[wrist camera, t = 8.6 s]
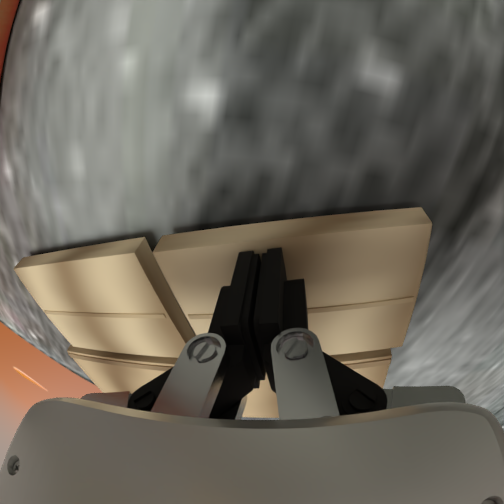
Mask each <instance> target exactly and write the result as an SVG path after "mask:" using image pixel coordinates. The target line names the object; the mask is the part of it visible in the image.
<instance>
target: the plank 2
mask: <svg viewBox="0 0 504 504" xmlns="http://www.w3.org/2000/svg"><path fill="white" fill-rule="evenodd" d="M431 229H432V222H431V221H430V219H429V218H428V216H427V215H426V213H425V212H424V210H423V209H422V208H421V207H417V208H404V209H392V210H380V211H369V212H358V213H347V214H337V215H327V216H317V217H308V218H298V219H289V220H280V221H272V222H263V223H255V224H246V225H238V226H230V227H222V228H215V229H207V230H199V231H192V232H185V233H177V234H170V235H163V236H162V237H161V239H160V240H159V242H158V244H157V246H156V247H155V249H154V251H153V252H152V253H153V255H154V257H155V259H156V261H157V263H158V265H159V267H160V269H161V271H162V273H163V275H164V277H165V279H166V280H167V282H168V284H169V286H170V288H171V290H172V292H173V294H174V296H175V298H176V299H177V301H178V303H179V305H180V307H181V309H182V310H183V312H184V314H185V316H186V318H187V319H188V321H189V323H190V325H191V327H192V328H193V330H194V332H195V333H196V335H199V334H203V333H208V330H209V327H210V324H211V320H212V317H213V313H214V310H215V306H216V303H217V300H218V296H219V293H220V289H221V287H223V286H230V284H231V280H232V276H233V273H234V269H235V265H236V261H237V257H238V254H239V252H245V251H254V254H259V255H260V259H262V253H267V249H271V248H280V247H282V252H283V258H284V264H285V270H286V276H287V280H295V279H304V281H305V290H306V300H307V312H308V329H309V330H310V331H312V332H313V333H314V334H316V335H317V337H318V339H319V342H320V345H321V349H322V351H323V352H325V353H326V354H328V355H338V354H348V353H357V352H365V351H373V350H380V349H387V348H394V347H400V346H402V345H403V342H404V339H405V336H406V333H407V329H408V326H409V323H410V320H411V316H412V313H413V310H414V306H415V302H416V299H417V295H418V291H419V287H420V283H421V279H422V275H423V270H424V266H425V261H426V256H427V251H428V246H429V240H430V235H431Z"/></svg>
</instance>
